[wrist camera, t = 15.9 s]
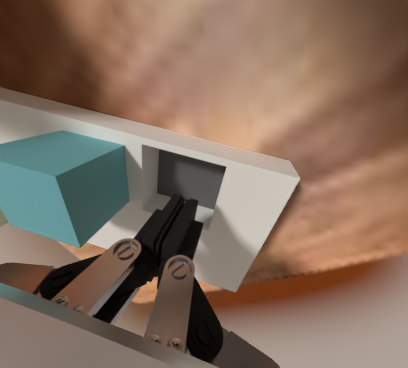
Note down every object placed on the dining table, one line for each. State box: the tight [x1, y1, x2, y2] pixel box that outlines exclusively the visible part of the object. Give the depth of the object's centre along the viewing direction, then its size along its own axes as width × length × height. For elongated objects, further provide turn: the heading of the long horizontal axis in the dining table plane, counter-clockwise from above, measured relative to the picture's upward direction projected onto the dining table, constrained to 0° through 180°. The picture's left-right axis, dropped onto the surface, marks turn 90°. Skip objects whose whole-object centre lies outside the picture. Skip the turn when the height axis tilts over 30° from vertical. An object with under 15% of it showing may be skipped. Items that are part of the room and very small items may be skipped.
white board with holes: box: [0, 87, 300, 292], centre depth 15 cm, size 14×28×6 cm, turn 79°
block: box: [0, 130, 129, 248], centre depth 11 cm, size 5×5×5 cm
